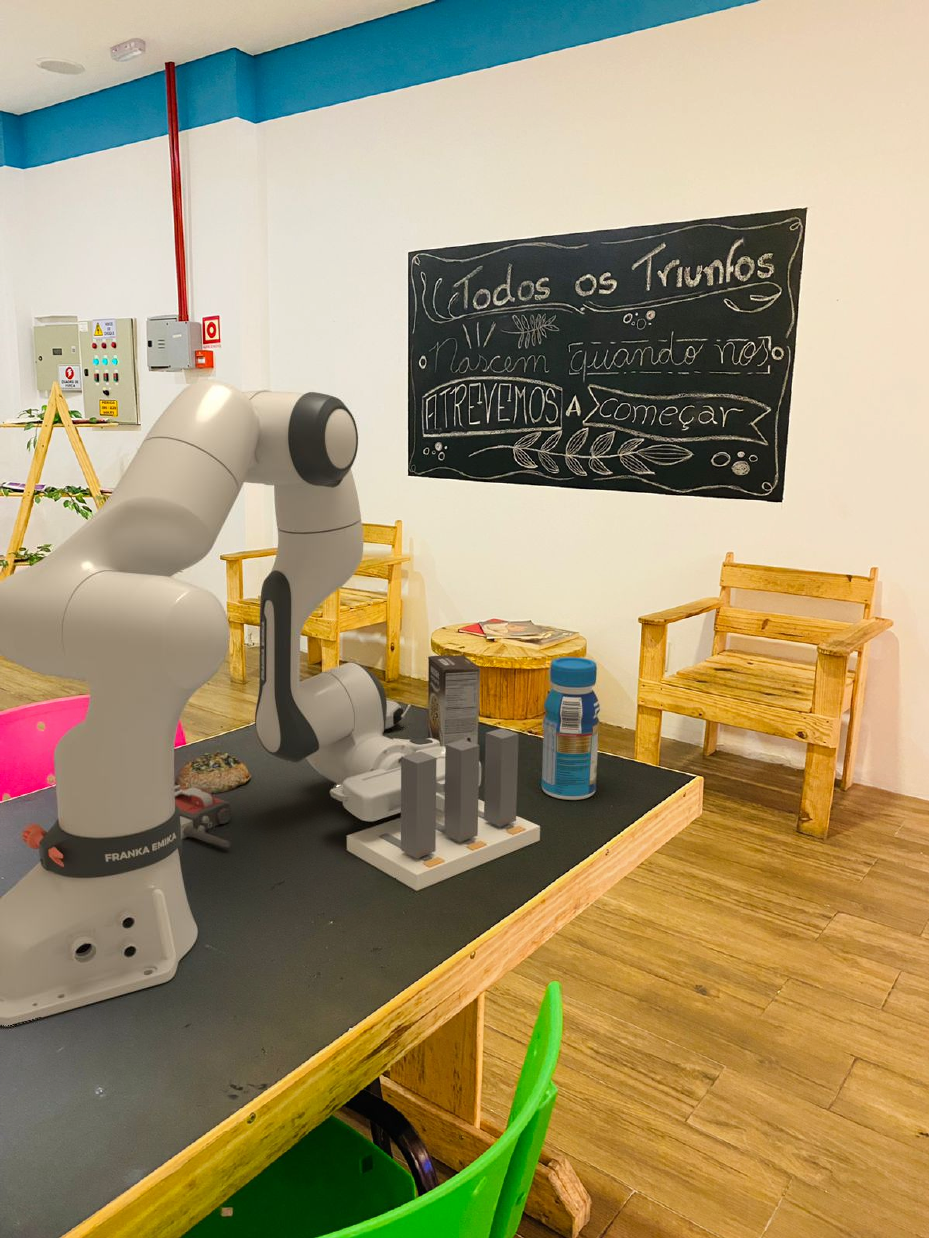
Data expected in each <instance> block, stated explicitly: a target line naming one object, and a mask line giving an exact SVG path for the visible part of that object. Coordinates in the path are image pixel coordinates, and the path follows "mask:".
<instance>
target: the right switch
mask: <svg viewBox="0 0 929 1238" xmlns="http://www.w3.org/2000/svg"><path fill="white" fill-rule="evenodd" d="M519 737H520V736H519V733H517V732H514V731H511V730H508V729H505V728H503V727H502V728H501V727H500V728H498V729H495V730H491V731H488V732H485V749H484V751H485V755H484V756H485V757H484V758H485V759H484V792H483V793H484V797H483V798H484V801H483V802H484V820H486V821H488V822H490V823H492V824H495V825H497V826H499V827H501V826H503V825H506V824H509V823H511V822H514V821H516V816H517V799H518V798H517V797H518V769H519V768H518V767H519V766H518V765H519V763H518V762H519Z"/></svg>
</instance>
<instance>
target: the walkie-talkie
mask: <svg viewBox="0 0 929 1238" xmlns="http://www.w3.org/2000/svg"><path fill="white" fill-rule="evenodd" d="M174 791H175V804H176V805H177V806H178V807H179V811H180V821H181V828H182V840H183V839H186V838H195V839H197V840H200V841H202V842H206V843H208V844H211V845H212V844H213V845H214V844H215V845H219V846H220V847H223V848H230V846H231V843H230V841H229V840H227V839H224V838H221V837H217V836H216V835H212V834H209V833H207V832H206V831H207V830H210V829H212V828H215V827H217V826H219V825H225V824H227V823H228V822H229V821H230V820H231V818H232V817H231V816H232V815H231V813H232V812H231V803H230V802H229V801H227V800H225V799H221V798H218V797H215V796H214V795H213V793H209V792H206V791H203V792H202V790H200V789H197V788H194V787H192V788H189V789H188V788H185V787H182V786H180V785H179V784H174Z"/></svg>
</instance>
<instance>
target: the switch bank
mask: <svg viewBox="0 0 929 1238" xmlns="http://www.w3.org/2000/svg"><path fill="white" fill-rule="evenodd" d="M444 816H445V810H444V811H442V810H439V809H437V808H436V849H435V852H432V853H430V854H427V855H425V856H422V857H419V858H417V859H416V858H414V857H413V856H411V855H409V854H407V853H405V852H403V851H402V850H401V817H398V818H396V819H392V820H389V821H386V822H383V823H381V824H378V825H375V826H372V827H369V828H365V829H362V830H360V831H356V832H353V833H351V834H348V835H346V851H348V852H349V853H351V854H353V855H354V856H356V857H358V858H359V859H361V860H362V861H364V862H367V863H368V864H369V865H371V866H373V867H375V868H377V869H379V870H380V871H382V872H383V873H385V874H387V875H389V876H390V877H392V878H393V879H395V878H396V879H395V880H397V881H399V882H401V883H402V884H404V885H406V886H408V887H409V888H411V889H413V890H415V891H420V890H422V889H425V888H427V887H430V886H432V885H434V884H437V883H439V882H442V881H444V880H447V879H449V878H451V877H453V876H456V875H458V874H461V873H464V872H466V871H468V870H471V869H474V868H476V867H478V866H480V865H483V864H486V863H488V862H491V861H493V860H495V859H498V858H500V857H502V856H504V855H507V854H510V853H512V852H514V851H517V850H520V849H522V848H525V847H526V846H529V845H532V844H534V843H536V842H539V841H540V837H541V825H538V824H536V823H534V822H531V821H529V820H527V819H525V818H522V817H520V816H518V815H516V821H514V822H511V823H509V824H506V825H503V826H501V827H499V826H497V825H495V824H492V823H490V822H488V821H486V820H484V801H483V800H481V799H479V798H478V836H475V837H473V838H470V839H467V840H465V841H462V842H459V841H457V840H455V839H453V838H451V837H449V836H446V835H444Z"/></svg>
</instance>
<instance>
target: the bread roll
mask: <svg viewBox="0 0 929 1238" xmlns="http://www.w3.org/2000/svg"><path fill="white" fill-rule="evenodd" d="M251 778H252V775H251V773H250V772H249V769H248V768H247V765H246V764H245V763H243V762H242V761H241V760H240V759H238V758H237V757H235V756H231V755H230V754H229V753H228V752H224V753H221V751H220V750H216V751H214V752H213V753H205V754H203V756H200V757H198V758H196V759H193V760H190V761H187V762H186V763H185V764H184V766H182V768H181V769H180V770H179V771H178V774H177V777H176V783H177V785H180V786H182V787H185V788H188V789H189V788H192V787H194V788H197V789H200V790H202V792H203V791H206V792H209V793H211V794H217V793H223V792H228V791H231V790H233V789H235V788H237V787H238V786H241V785H245V784H246V783H247V782H248V781H249V780H250V779H251Z"/></svg>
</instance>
